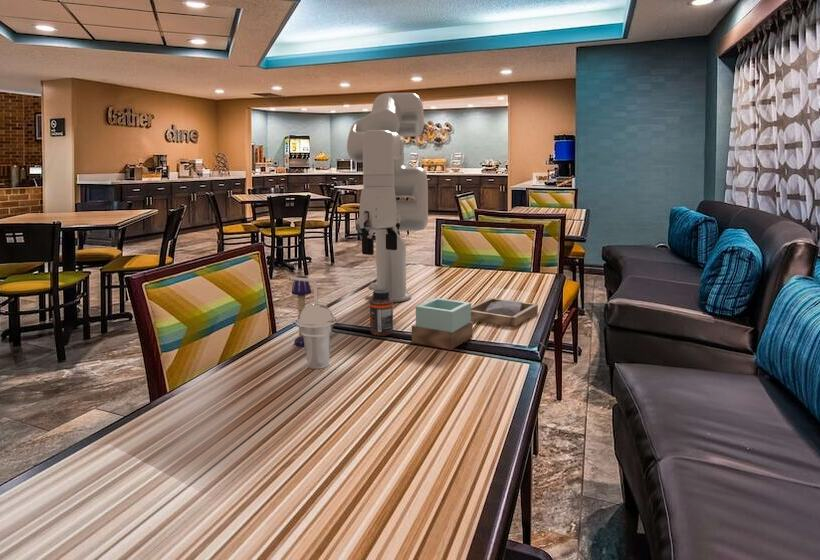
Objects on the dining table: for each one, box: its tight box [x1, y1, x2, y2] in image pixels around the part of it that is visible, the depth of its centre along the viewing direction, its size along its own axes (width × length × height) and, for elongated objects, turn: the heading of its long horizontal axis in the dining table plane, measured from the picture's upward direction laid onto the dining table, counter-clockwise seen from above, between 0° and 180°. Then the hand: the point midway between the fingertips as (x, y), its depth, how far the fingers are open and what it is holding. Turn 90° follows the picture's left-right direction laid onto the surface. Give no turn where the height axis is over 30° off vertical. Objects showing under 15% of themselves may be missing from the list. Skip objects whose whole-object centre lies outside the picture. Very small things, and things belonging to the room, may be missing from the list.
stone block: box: [485, 300, 523, 316], centre depth 156 cm, size 12×5×10 cm
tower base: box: [411, 321, 474, 351], centre depth 135 cm, size 11×11×4 cm
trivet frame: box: [471, 297, 539, 327], centre depth 156 cm, size 15×17×2 cm
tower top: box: [415, 297, 472, 332], centre depth 134 cm, size 10×10×5 cm
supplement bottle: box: [369, 289, 394, 337], centre depth 139 cm, size 6×6×11 cm
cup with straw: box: [288, 276, 337, 370], centre depth 116 cm, size 8×9×20 cm
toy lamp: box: [291, 275, 312, 347], centre depth 131 cm, size 5×5×17 cm
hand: (380, 252), depth 136 cm, fingers open, 9 cm apart
